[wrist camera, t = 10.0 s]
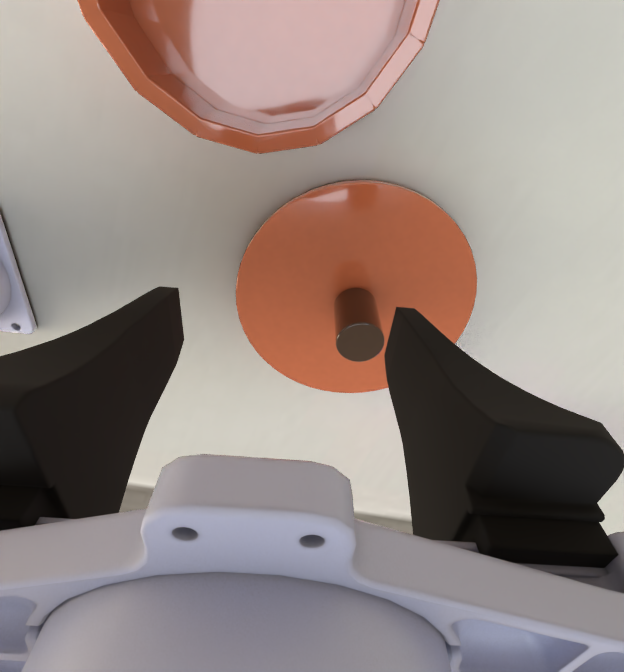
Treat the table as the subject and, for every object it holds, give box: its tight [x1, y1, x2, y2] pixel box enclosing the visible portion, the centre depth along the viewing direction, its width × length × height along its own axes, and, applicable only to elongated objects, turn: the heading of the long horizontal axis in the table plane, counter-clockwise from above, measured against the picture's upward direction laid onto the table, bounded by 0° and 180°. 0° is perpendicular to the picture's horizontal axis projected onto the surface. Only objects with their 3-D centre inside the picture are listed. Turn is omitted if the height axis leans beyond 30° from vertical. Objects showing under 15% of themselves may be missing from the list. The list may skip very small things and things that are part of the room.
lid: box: [236, 180, 477, 393], centre depth 21 cm, size 13×13×5 cm
